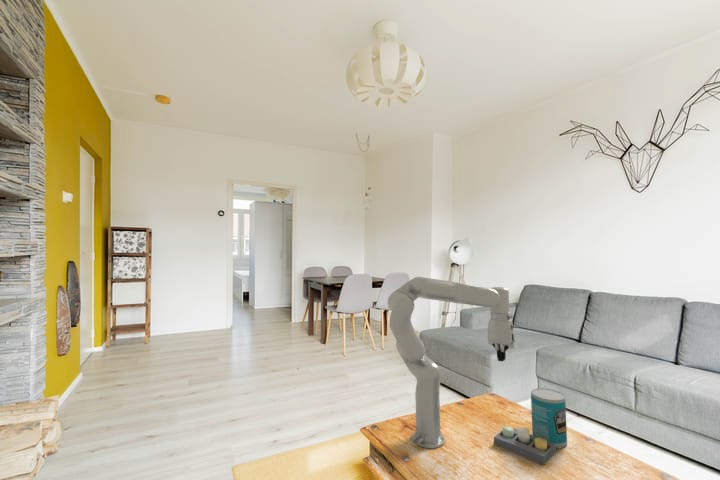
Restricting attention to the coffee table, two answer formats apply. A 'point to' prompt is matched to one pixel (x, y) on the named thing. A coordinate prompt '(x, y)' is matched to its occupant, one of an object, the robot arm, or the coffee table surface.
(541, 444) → the key mustard
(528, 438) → the key ivory
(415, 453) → the coffee table surface
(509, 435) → the pale green egg
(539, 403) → the food can
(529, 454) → the gray compartment tray
